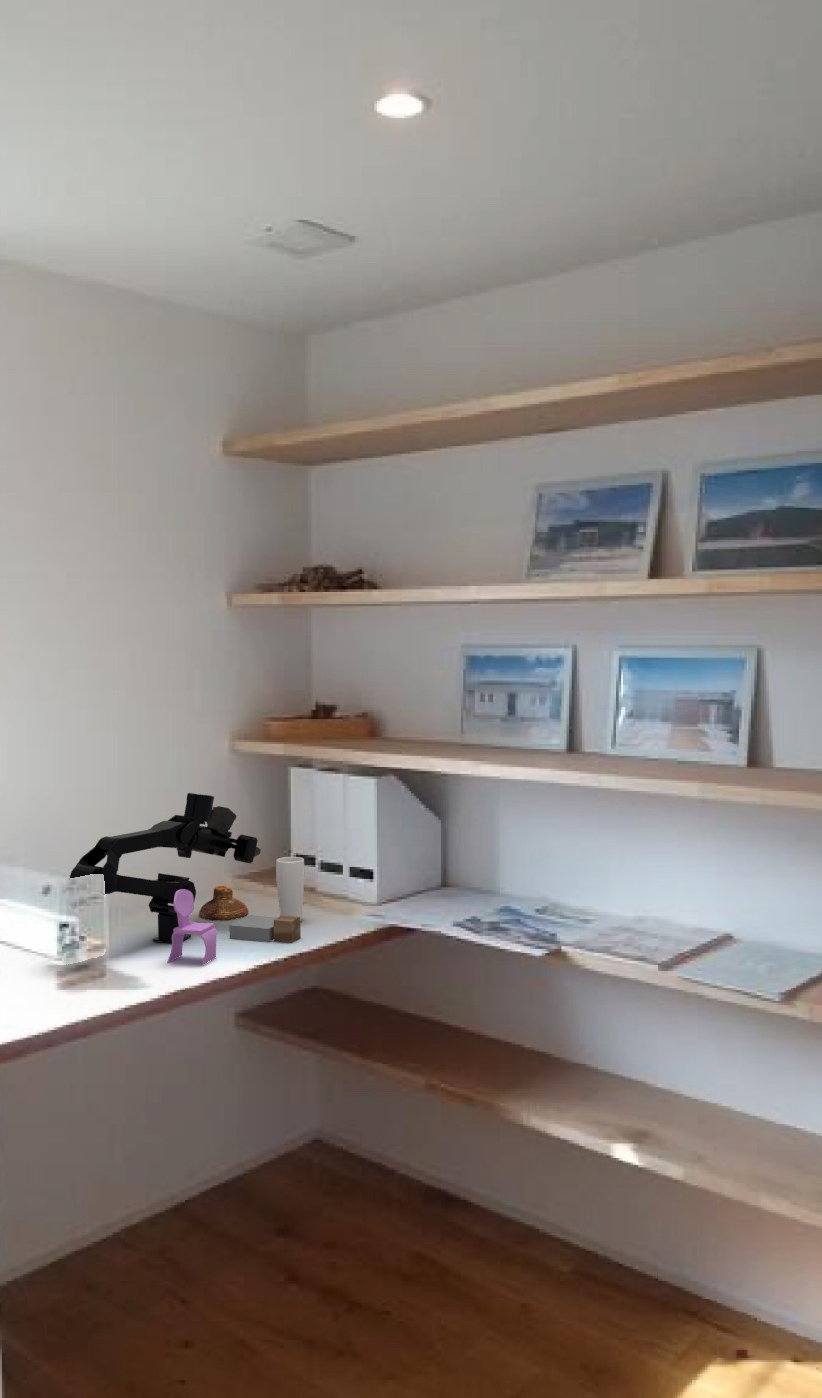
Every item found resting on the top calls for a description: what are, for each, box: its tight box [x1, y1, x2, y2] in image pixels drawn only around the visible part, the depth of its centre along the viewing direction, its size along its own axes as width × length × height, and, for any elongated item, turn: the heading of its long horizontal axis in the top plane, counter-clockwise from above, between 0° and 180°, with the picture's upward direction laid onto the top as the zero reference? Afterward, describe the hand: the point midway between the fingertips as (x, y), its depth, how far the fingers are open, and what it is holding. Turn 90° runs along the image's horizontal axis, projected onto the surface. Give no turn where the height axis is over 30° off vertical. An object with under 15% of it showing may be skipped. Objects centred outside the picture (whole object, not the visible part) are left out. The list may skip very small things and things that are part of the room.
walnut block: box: [273, 915, 302, 944], centre depth 264 cm, size 4×4×5 cm
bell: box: [198, 885, 249, 921], centre depth 288 cm, size 12×12×7 cm
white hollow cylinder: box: [275, 856, 305, 922], centre depth 280 cm, size 7×7×15 cm
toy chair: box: [166, 889, 218, 965], centre depth 248 cm, size 8×9×15 cm
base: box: [228, 914, 279, 943], centre depth 269 cm, size 10×10×3 cm
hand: (245, 848), depth 285 cm, fingers open, 9 cm apart
